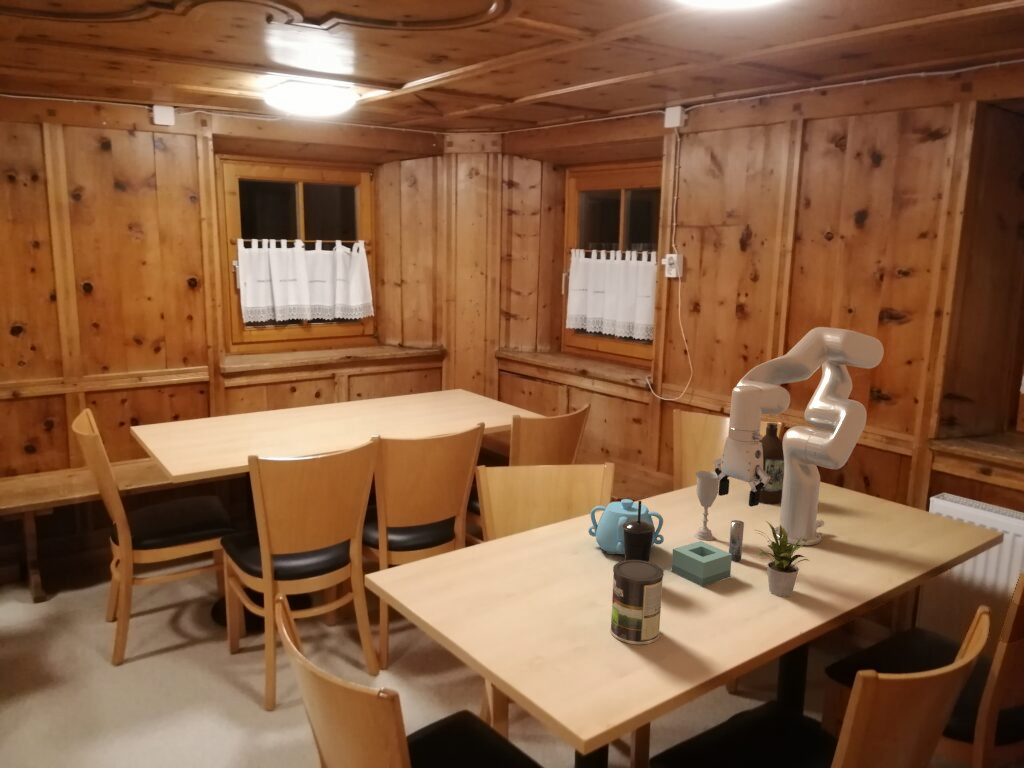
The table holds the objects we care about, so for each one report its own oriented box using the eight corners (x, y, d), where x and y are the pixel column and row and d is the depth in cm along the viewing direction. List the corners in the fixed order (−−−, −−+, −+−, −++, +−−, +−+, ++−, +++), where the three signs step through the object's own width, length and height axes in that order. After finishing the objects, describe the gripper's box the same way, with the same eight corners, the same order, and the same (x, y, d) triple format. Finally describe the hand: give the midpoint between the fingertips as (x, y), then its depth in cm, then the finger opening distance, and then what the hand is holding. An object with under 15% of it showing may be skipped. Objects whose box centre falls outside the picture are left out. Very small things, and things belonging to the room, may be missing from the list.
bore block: (699, 563, 200) (700, 540, 199) (730, 577, 192) (731, 554, 191) (671, 571, 195) (672, 548, 194) (701, 586, 187) (703, 562, 186)
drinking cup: (654, 576, 192) (658, 498, 188) (649, 589, 185) (653, 508, 181) (623, 571, 194) (627, 494, 191) (617, 584, 187) (620, 504, 184)
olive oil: (742, 494, 256) (748, 420, 251) (772, 493, 258) (778, 419, 253) (759, 505, 245) (765, 428, 241) (790, 504, 248) (796, 427, 243)
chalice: (717, 542, 214) (721, 479, 211) (691, 540, 216) (695, 477, 212) (716, 533, 221) (720, 471, 218) (691, 531, 223) (695, 470, 219)
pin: (734, 555, 206) (736, 519, 204) (743, 559, 203) (746, 523, 201) (725, 558, 204) (728, 521, 202) (735, 562, 201) (738, 525, 200)
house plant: (732, 581, 190) (736, 517, 187) (777, 573, 195) (783, 511, 192) (771, 607, 177) (777, 538, 174) (819, 598, 182) (826, 531, 179)
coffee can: (616, 645, 159) (619, 580, 156) (605, 621, 169) (608, 559, 166) (666, 644, 160) (669, 579, 157) (652, 620, 170) (656, 559, 167)
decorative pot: (612, 565, 198) (615, 514, 196) (583, 542, 213) (585, 494, 210) (667, 556, 204) (670, 507, 202) (635, 534, 219) (637, 488, 216)
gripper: (782, 440, 193) (775, 507, 195) (726, 426, 207) (721, 488, 209) (762, 444, 188) (756, 512, 191) (707, 429, 202) (702, 493, 205)
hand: (738, 500), depth 200 cm, fingers open, 9 cm apart
